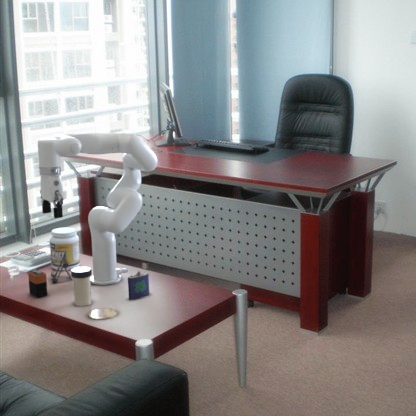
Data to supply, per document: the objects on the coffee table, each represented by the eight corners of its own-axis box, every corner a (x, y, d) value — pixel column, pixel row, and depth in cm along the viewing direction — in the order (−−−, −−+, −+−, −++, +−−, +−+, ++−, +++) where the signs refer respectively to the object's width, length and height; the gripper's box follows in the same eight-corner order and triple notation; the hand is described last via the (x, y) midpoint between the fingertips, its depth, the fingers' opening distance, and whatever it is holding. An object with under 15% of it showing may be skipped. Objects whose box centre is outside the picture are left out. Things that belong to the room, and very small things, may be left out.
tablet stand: (50, 277, 284) (49, 258, 282) (70, 275, 287) (69, 256, 285) (52, 283, 276) (51, 264, 274) (72, 281, 279) (71, 262, 277)
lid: (86, 270, 259) (86, 265, 258) (94, 275, 254) (94, 270, 253) (68, 274, 254) (68, 268, 254) (76, 279, 249) (75, 273, 248)
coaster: (109, 307, 253) (109, 306, 253) (121, 315, 246) (121, 314, 245) (83, 313, 246) (83, 312, 246) (95, 321, 239) (95, 320, 239)
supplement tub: (46, 270, 293) (43, 232, 289) (60, 261, 305) (57, 225, 301) (72, 272, 291) (69, 234, 287) (85, 263, 303) (83, 227, 299)
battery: (37, 298, 260) (35, 273, 258) (29, 293, 265) (27, 269, 262) (48, 295, 263) (46, 271, 261) (39, 291, 268) (38, 267, 266)
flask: (147, 293, 268) (146, 267, 266) (151, 294, 266) (150, 269, 264) (127, 298, 262) (126, 272, 259) (131, 300, 260) (130, 274, 257)
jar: (87, 299, 261) (85, 267, 258) (94, 303, 256) (92, 271, 253) (72, 302, 257) (70, 270, 254) (78, 307, 252) (76, 274, 249)
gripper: (70, 173, 249) (72, 218, 253) (49, 167, 261) (51, 209, 265) (50, 175, 244) (53, 221, 248) (30, 169, 256) (33, 212, 259)
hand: (52, 215), depth 256 cm, fingers open, 9 cm apart
